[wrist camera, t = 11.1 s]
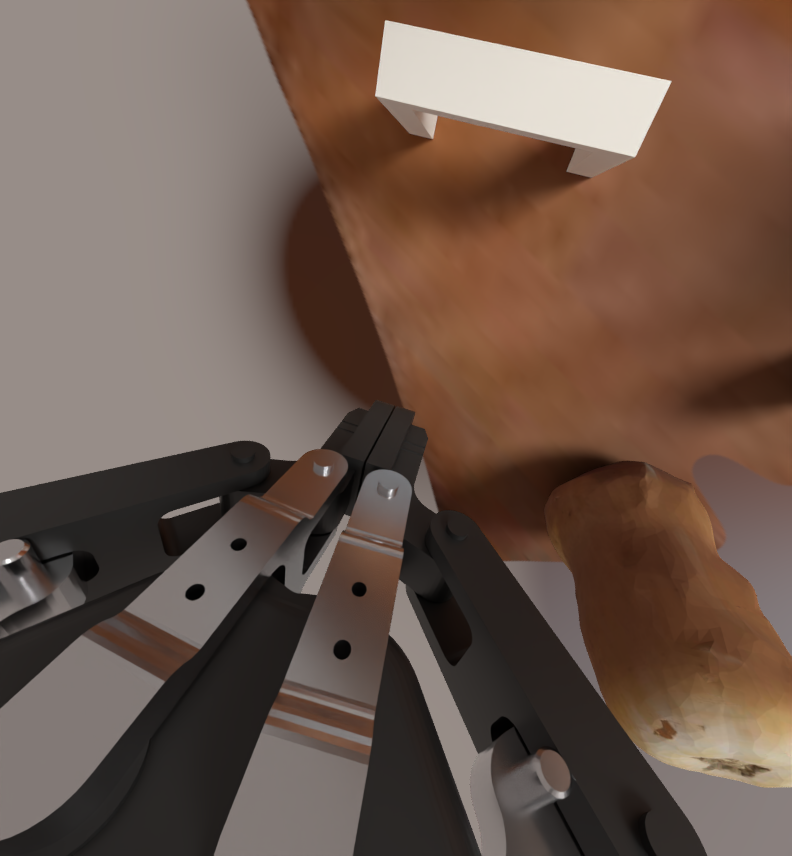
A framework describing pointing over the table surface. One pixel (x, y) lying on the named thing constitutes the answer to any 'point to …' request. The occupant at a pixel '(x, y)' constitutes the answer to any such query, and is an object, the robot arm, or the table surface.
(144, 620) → the robot arm
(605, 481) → the butternut squash
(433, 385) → the table surface
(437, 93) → the bridge
